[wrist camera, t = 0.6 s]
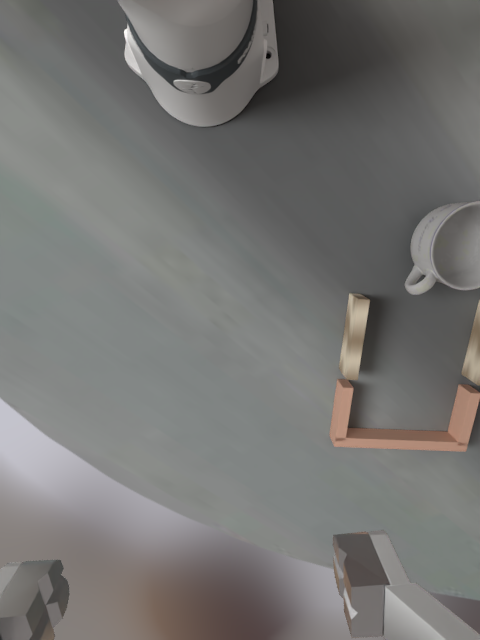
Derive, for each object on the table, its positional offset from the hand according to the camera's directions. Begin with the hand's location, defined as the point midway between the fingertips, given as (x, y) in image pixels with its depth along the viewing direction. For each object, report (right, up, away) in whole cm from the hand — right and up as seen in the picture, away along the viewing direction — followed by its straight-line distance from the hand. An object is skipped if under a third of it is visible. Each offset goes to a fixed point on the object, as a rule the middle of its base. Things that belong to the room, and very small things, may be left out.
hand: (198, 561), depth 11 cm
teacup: (+28, +17, +42) cm, 53 cm away
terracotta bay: (+27, -8, +48) cm, 56 cm away
